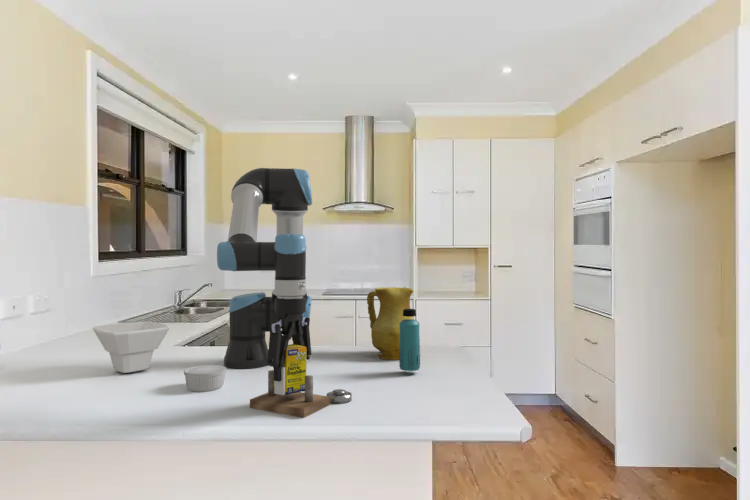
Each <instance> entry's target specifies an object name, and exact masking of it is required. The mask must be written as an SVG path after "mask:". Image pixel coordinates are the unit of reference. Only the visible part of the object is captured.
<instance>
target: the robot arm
mask: <svg viewBox="0 0 750 500" xmlns="http://www.w3.org/2000/svg"><path fill="white" fill-rule="evenodd" d="M312 194H313V193H312V187H311V180H310V173H309V172H308V171H307V170H305V169H300V168H275V167H274V168H272V167H267V168H266V167H260V168H259V167H258V168H255V169H251V170H249V171H248V172H246V173H244V174H243V175H241V176H240V177H239V178H238V179H237V180H236V181H235V183H234V185H233V187H232V189H231V194H230V198H231V199H230V201H231V202H232V211H231V215H230V222H229V228H228V229H229V230H228V237H227V240H226V241H221V242H219V243H218V244H217V248H216V249H217V250H216V262H217V267H218V269H219V270H220V271H225V272H226V271H230V272H231V271H232V272H252V271H253V272H254V271H255V272H256V271H257V272H258V271H259V272H261V271H262V272H264V271H265V272H266V271H268V272H270V271H271V272H272V271H273V272H274V275H275V276H274V289H273V290H272V291H271V296H266V293H265V292H261V291H260V292H251V293H244V294H239V295H236V296H233V297H231V299H230V300H229V310H228V313H229V337H228V339H229V342H228V345H227V347H226V350H225V355H224V358H223V366H224V367H226V368H230V369H255V368H260V367H265V366H269V367H272V368H273V370H274V394H280V395H285V387H286V367H283V364H284V360H285V353H286V349H287V347H288V345H289V341H290V340H292V344H297V345H301V346H305V347H307V358H306V361H309V360H310V356H312V346H311V345H312V344H311V337H310V336H311V334H310V333H311V332H310V321H311V319H310V318H311V311H312V310H311V308H312V297H311V296H310V295H308V291H307V289H306V277H307V276H306V270H307V269H306V264H307V263H306V262H307V244H306V243H307V242H306V236H305V235H304V215H305V214H306V213H307V212H308V209H309V208H308V206H312V205H313V195H312ZM261 205H271V211H272V212H273V213H274V214H275V215H276V236H275V238H274V241H257V239H258V227H259V226H258V224H259V223H258V222H259V210H260V207H261ZM267 332H269V339H268V340H269V341H268V345H267V341H266V333H267Z"/></svg>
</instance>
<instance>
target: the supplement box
mask: <svg viewBox="0 0 750 500" xmlns="http://www.w3.org/2000/svg"><path fill="white" fill-rule="evenodd" d="M306 358H307V347H305V346H301V345H297V344H293V343H291V344H290V343H289V344H288V347H287V349H286V353H285V360H284V364H283V367H286V387H285V395H289V394H293V393H297V392H305V376H307V360H306Z"/></svg>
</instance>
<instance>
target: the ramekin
mask: <svg viewBox="0 0 750 500" xmlns="http://www.w3.org/2000/svg"><path fill="white" fill-rule="evenodd" d="M226 373H227V367H226V366H224V365H221V364H202V365H196V366H190V367H188V368H186V369H184V371H183V376H184V378H185V384H186V388H187V389H188V390H189V391H191V392H194V393H199V392H200V393H206V392H213V391H216V390H220V389H221V388H222V387H223V386H224V384H225V383H224V382H225V377H226Z"/></svg>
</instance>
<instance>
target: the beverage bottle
mask: <svg viewBox="0 0 750 500" xmlns="http://www.w3.org/2000/svg"><path fill="white" fill-rule="evenodd" d="M416 311H417V310H416V309H415V308H410V309H403V316H408V317H412V316H413V317H416V316H417V312H416ZM399 325H400V346H399V347H400V350H399V351H400V353H399V370H401V371H405V372H414V371H419V370H420V368H421V345H420V342H421V339H420V325H421V324H420V322H419V321H418V320H417V319H415V318H413V319H404V320H402V321H401V322H400V324H399Z"/></svg>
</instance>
